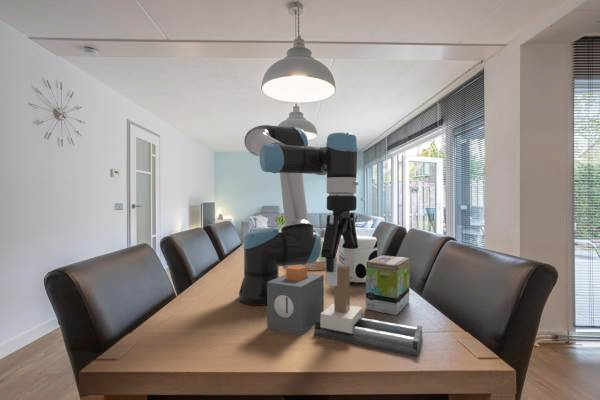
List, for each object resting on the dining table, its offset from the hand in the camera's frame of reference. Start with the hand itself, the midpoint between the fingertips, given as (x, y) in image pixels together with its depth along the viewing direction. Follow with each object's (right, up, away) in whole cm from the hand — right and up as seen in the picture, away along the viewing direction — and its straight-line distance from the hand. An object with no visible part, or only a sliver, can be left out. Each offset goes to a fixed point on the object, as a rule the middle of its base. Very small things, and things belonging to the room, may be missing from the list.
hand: (341, 278), depth 79 cm
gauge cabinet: (-11, -13, +6) cm, 18 cm away
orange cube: (-11, -2, +6) cm, 13 cm away
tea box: (+17, -14, +19) cm, 29 cm away
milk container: (+13, -14, +48) cm, 52 cm away
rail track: (+6, -13, -3) cm, 15 cm away
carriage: (0, -11, 0) cm, 11 cm away
